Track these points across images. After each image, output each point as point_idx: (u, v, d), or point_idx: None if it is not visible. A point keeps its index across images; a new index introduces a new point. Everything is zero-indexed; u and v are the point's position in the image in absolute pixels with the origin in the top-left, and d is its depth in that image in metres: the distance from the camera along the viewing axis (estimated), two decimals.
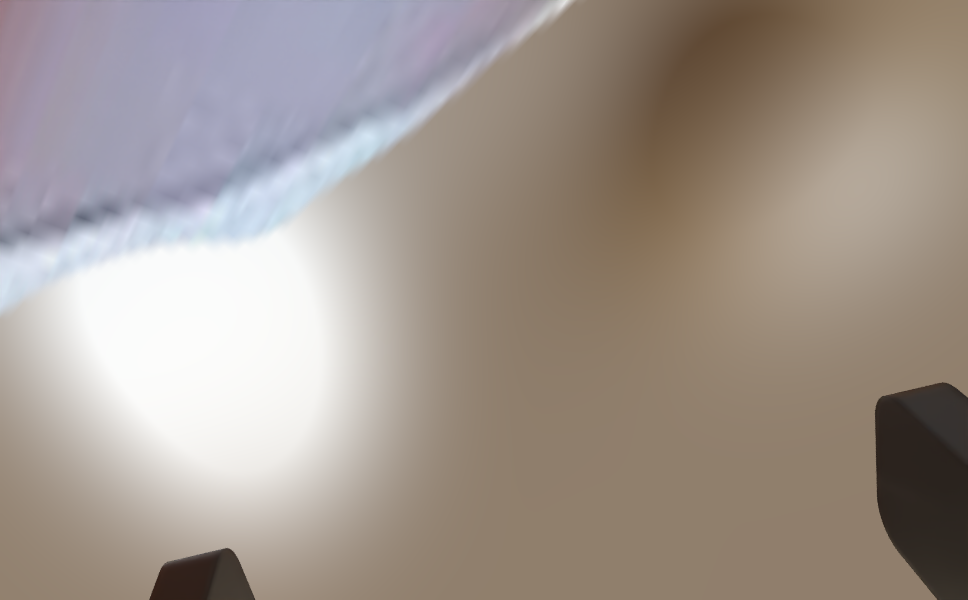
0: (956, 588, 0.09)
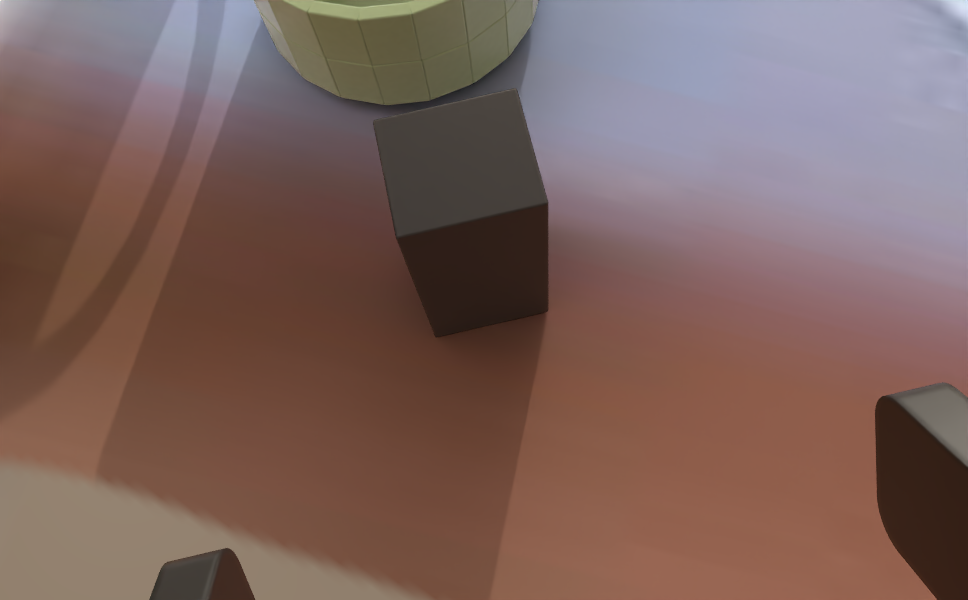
0: (956, 588, 0.09)
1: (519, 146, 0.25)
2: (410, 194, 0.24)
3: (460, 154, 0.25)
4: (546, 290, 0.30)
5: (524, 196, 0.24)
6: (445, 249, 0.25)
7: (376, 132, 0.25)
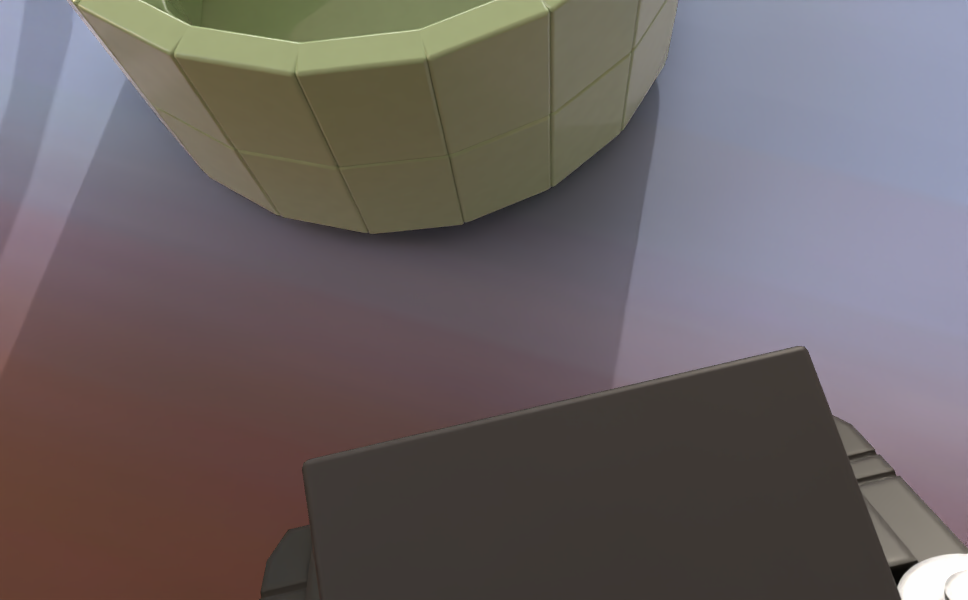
0: None
1: (850, 593, 0.06)
2: None
3: None
4: None
5: None
6: None
7: (313, 515, 0.07)
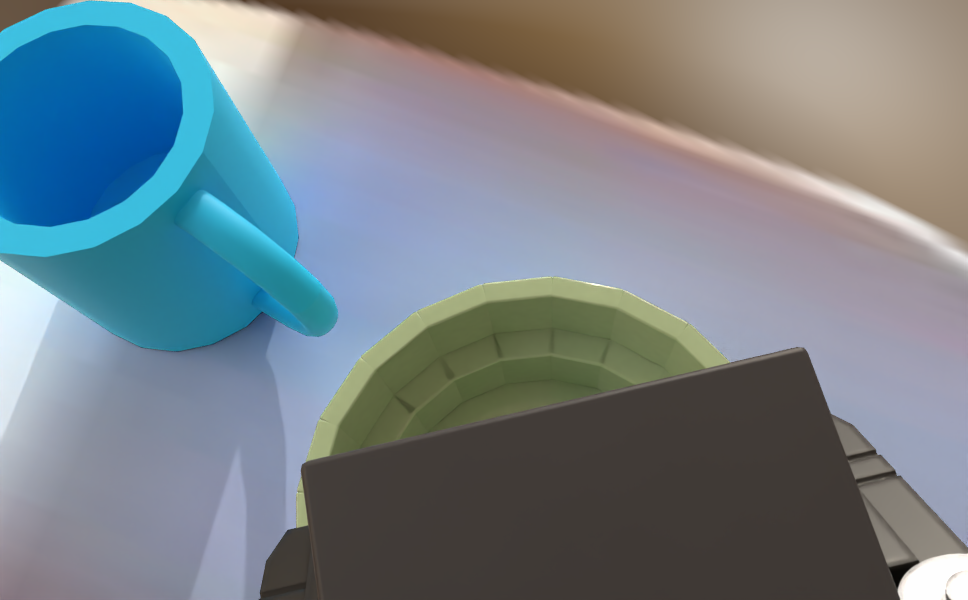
0: None
1: (849, 595, 0.06)
2: None
3: None
4: None
5: None
6: None
7: (311, 518, 0.07)
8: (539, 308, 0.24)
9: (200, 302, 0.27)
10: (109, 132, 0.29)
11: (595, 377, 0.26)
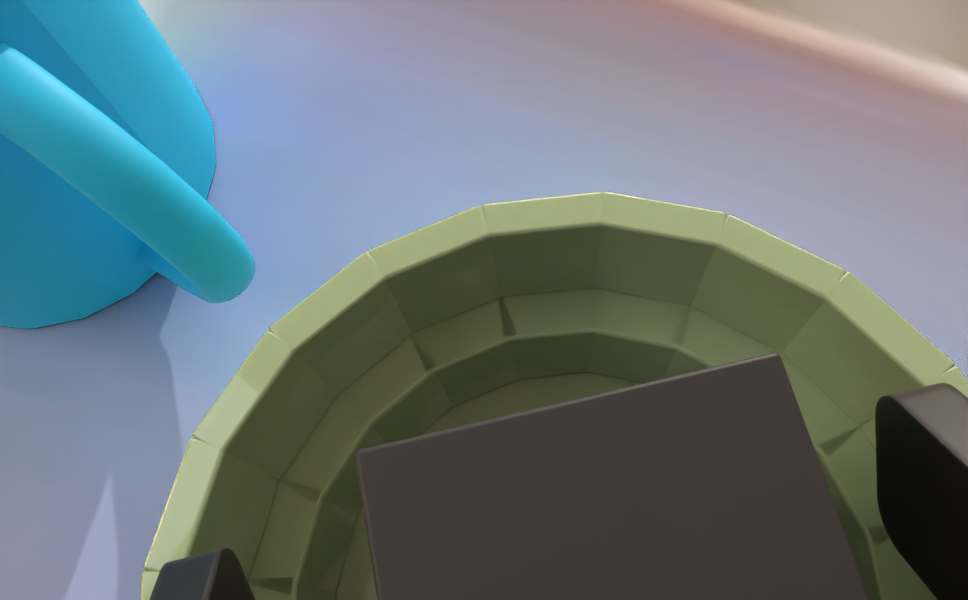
0: (956, 588, 0.09)
1: (813, 558, 0.08)
2: None
3: (627, 586, 0.08)
4: None
5: None
6: None
7: (365, 497, 0.08)
8: (578, 249, 0.14)
9: (42, 250, 0.17)
10: None
11: (661, 368, 0.16)
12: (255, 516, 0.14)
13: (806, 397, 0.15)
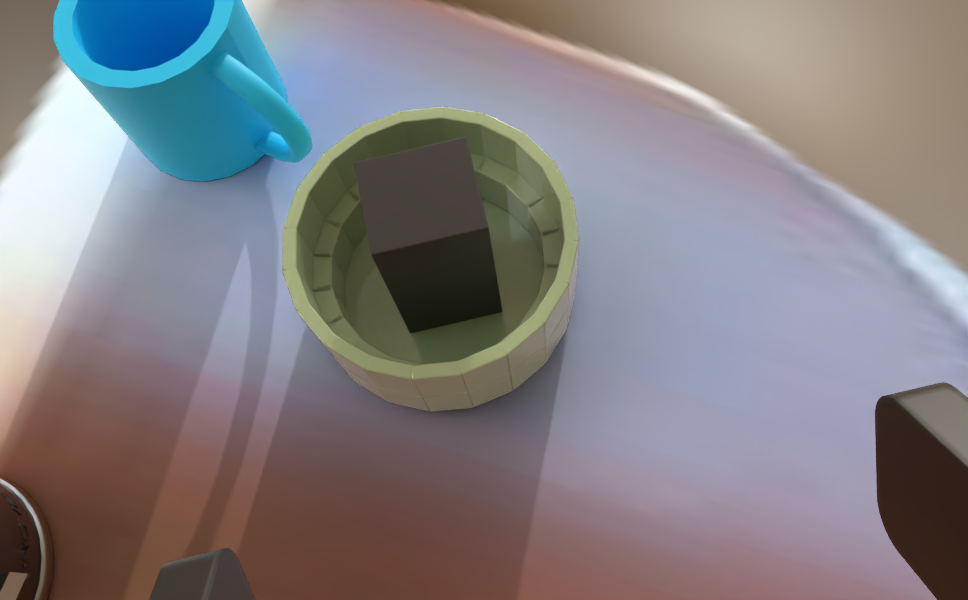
0: (956, 588, 0.09)
1: (467, 182, 0.32)
2: (382, 220, 0.31)
3: (421, 190, 0.32)
4: (498, 294, 0.37)
5: (470, 222, 0.31)
6: (410, 262, 0.32)
7: (356, 172, 0.32)
8: (436, 129, 0.38)
9: (222, 138, 0.41)
10: (160, 31, 0.43)
11: (478, 185, 0.40)
12: (316, 228, 0.38)
13: (524, 187, 0.38)
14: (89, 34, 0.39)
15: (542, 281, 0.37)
